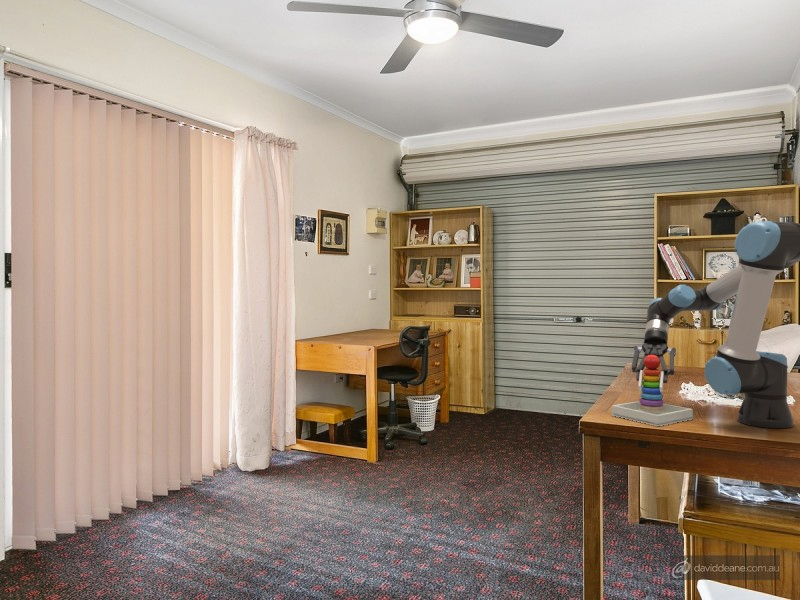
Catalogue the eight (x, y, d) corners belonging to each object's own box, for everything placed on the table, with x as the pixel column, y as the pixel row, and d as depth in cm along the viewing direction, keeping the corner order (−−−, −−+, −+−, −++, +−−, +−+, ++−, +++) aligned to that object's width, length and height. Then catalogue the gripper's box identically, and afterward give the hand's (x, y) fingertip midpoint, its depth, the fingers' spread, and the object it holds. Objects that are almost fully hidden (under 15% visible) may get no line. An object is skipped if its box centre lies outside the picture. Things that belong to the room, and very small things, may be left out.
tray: (692, 419, 194) (692, 409, 193) (658, 426, 184) (658, 415, 184) (645, 409, 209) (645, 399, 209) (611, 415, 200) (611, 405, 200)
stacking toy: (667, 413, 192) (667, 356, 191) (641, 412, 194) (641, 356, 193) (661, 408, 200) (661, 353, 199) (636, 407, 201) (636, 353, 201)
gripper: (686, 343, 205) (682, 398, 191) (629, 341, 214) (621, 393, 200) (685, 329, 200) (681, 384, 186) (627, 327, 209) (619, 380, 196)
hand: (650, 388), depth 193 cm, fingers closed on stacking toy, 6 cm apart
